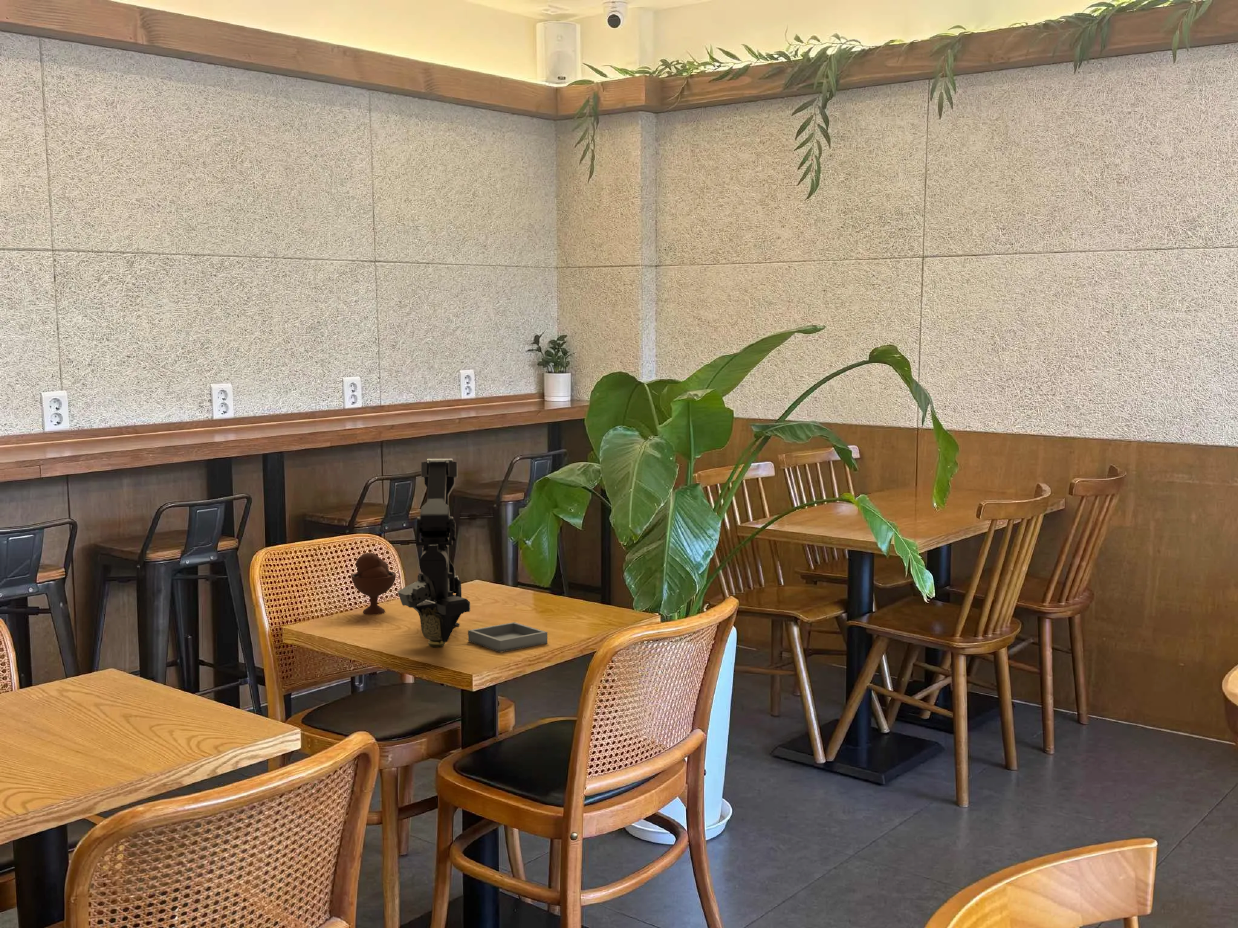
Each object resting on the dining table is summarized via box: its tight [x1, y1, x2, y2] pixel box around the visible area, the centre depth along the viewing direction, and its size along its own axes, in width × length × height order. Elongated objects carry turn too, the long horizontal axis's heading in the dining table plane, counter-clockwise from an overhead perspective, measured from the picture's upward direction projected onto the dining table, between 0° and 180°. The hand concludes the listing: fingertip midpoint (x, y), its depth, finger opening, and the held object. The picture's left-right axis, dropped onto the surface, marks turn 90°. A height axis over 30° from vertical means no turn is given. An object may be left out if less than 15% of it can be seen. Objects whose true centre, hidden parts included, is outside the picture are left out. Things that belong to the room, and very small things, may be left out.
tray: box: [467, 621, 548, 653], centre depth 273 cm, size 13×13×2 cm
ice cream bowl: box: [350, 552, 397, 616], centre depth 303 cm, size 11×11×15 cm
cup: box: [418, 607, 446, 649], centre depth 269 cm, size 8×7×8 cm
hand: (436, 638), depth 270 cm, fingers closed on cup, 6 cm apart
